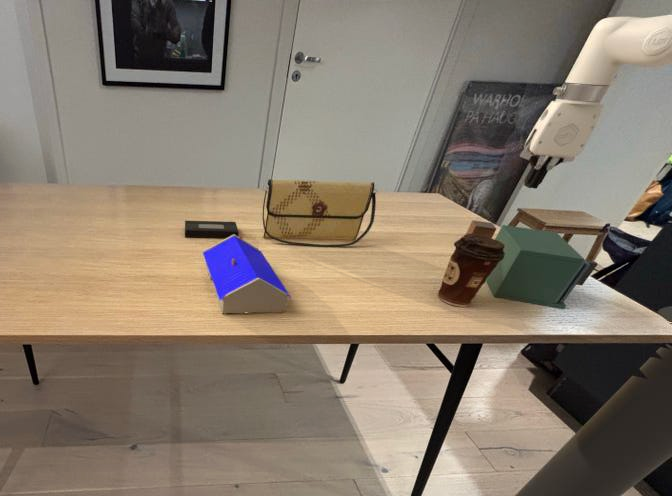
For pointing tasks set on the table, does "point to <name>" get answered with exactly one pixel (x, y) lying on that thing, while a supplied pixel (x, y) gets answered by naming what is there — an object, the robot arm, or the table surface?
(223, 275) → the roof
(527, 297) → the cabinet
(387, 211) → the table surface
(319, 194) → the clutch purse
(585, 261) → the dark grey slanted bar
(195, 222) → the vhs tape
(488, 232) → the walnut block
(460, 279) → the coffee cup
